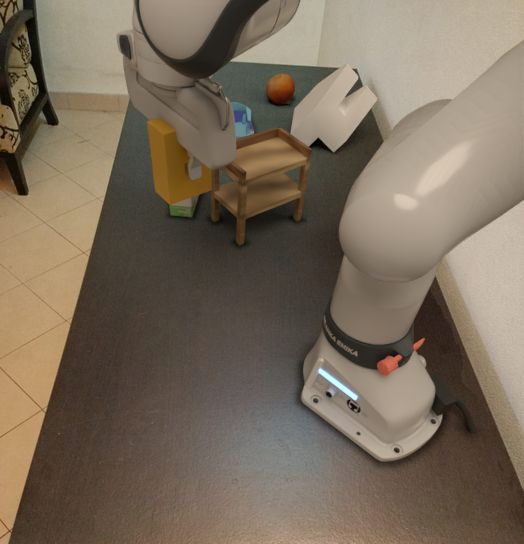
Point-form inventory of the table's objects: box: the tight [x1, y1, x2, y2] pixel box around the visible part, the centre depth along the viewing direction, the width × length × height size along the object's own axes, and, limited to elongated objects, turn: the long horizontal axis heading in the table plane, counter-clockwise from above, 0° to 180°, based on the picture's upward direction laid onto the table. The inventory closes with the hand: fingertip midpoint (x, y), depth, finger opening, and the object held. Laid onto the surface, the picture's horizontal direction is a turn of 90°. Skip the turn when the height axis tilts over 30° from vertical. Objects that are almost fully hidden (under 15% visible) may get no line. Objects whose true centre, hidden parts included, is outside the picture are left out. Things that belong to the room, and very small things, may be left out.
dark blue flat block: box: [234, 111, 255, 134], centre depth 122 cm, size 2×8×12 cm
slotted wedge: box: [289, 62, 378, 153], centre depth 116 cm, size 14×11×18 cm
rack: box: [210, 126, 313, 246], centre depth 92 cm, size 10×16×16 cm, turn 127°
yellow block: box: [146, 118, 212, 206], centre depth 63 cm, size 4×7×10 cm, turn 128°
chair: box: [231, 101, 252, 139], centre depth 107 cm, size 8×8×12 cm
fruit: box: [265, 73, 296, 106], centre depth 131 cm, size 8×8×8 cm
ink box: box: [168, 194, 200, 218], centre depth 94 cm, size 9×5×12 cm, turn 175°
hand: (182, 167), depth 64 cm, fingers closed on yellow block, 4 cm apart
